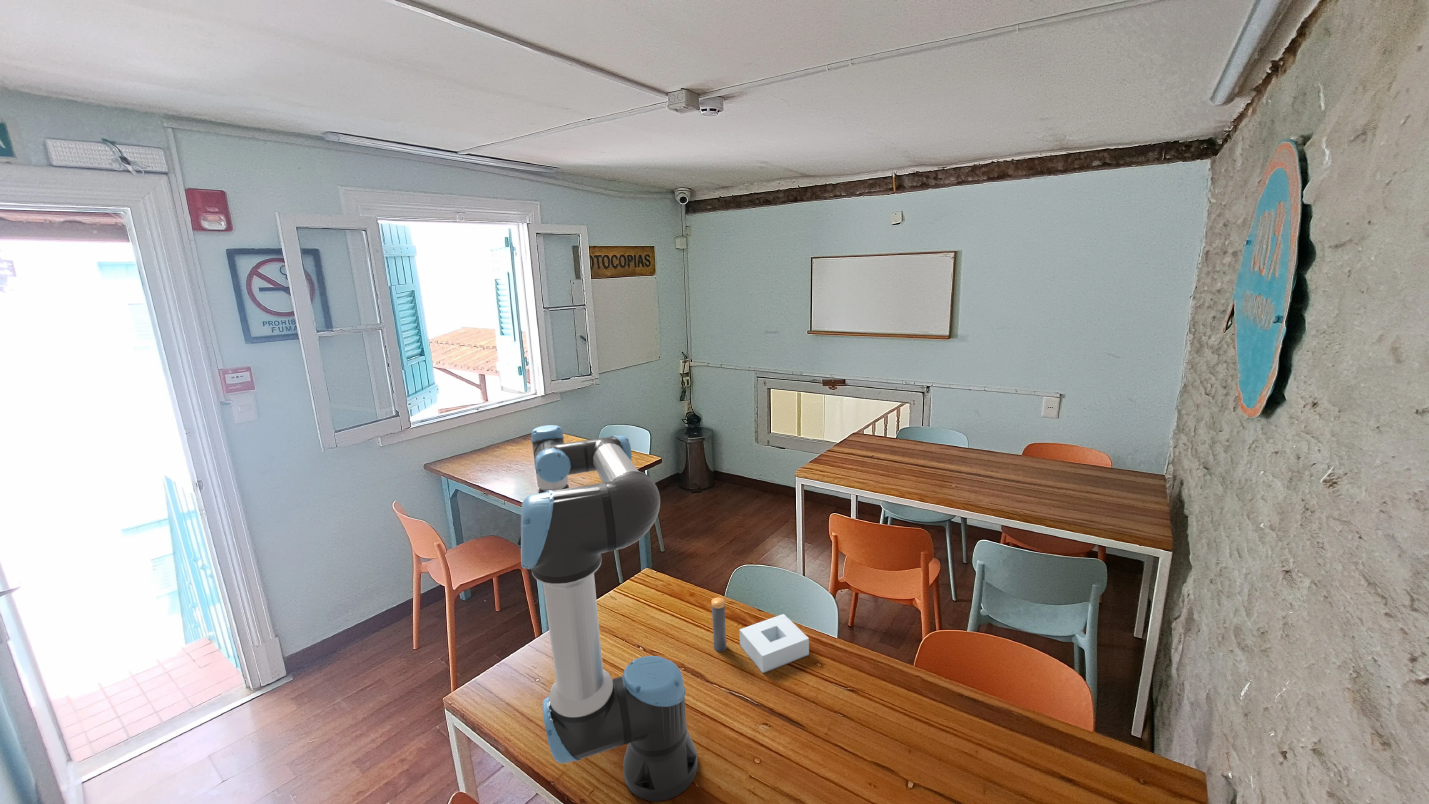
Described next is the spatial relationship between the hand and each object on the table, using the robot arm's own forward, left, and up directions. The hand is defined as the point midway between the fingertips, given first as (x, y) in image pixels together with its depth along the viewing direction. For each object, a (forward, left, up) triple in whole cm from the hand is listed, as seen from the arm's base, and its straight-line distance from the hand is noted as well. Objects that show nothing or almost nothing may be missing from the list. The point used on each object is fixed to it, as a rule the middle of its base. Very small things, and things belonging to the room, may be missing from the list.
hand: (562, 562), depth 144 cm
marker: (-19, -36, -26) cm, 48 cm away
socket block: (-27, -48, -26) cm, 61 cm away
